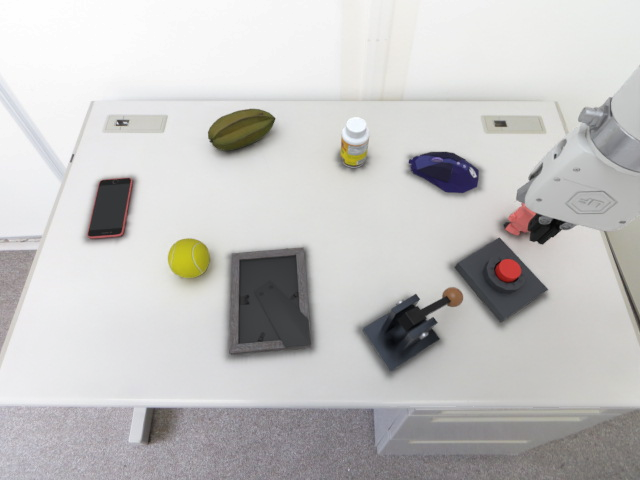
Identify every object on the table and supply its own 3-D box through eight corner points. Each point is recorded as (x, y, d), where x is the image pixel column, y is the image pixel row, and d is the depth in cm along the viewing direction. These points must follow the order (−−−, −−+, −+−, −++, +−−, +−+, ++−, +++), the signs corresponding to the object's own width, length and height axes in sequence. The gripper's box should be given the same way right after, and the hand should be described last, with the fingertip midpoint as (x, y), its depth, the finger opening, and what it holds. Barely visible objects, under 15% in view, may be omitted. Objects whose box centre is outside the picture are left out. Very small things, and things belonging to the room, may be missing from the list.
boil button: (521, 275, 64) (525, 272, 63) (505, 286, 64) (509, 282, 62) (506, 259, 66) (510, 255, 64) (490, 269, 65) (494, 265, 64)
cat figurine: (523, 208, 75) (556, 171, 64) (544, 237, 72) (582, 202, 61) (492, 219, 74) (520, 182, 63) (512, 248, 71) (545, 215, 60)
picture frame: (310, 347, 63) (303, 251, 71) (310, 344, 61) (303, 246, 69) (231, 354, 62) (233, 256, 71) (228, 352, 61) (231, 252, 69)
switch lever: (446, 291, 63) (457, 280, 61) (459, 306, 62) (471, 297, 60) (393, 318, 56) (404, 307, 53) (406, 336, 54) (418, 326, 52)
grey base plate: (542, 293, 67) (554, 285, 63) (499, 322, 64) (510, 315, 61) (494, 242, 72) (503, 232, 68) (454, 267, 69) (460, 258, 66)
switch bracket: (409, 301, 66) (425, 276, 56) (438, 340, 63) (460, 321, 53) (362, 330, 64) (369, 309, 54) (389, 372, 61) (402, 359, 50)
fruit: (232, 116, 88) (225, 93, 82) (279, 130, 86) (275, 107, 80) (208, 152, 83) (199, 130, 77) (257, 167, 81) (251, 146, 75)
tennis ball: (172, 283, 69) (157, 268, 62) (179, 249, 72) (166, 231, 66) (211, 283, 68) (199, 268, 62) (216, 249, 72) (206, 231, 65)
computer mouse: (476, 198, 76) (484, 186, 73) (403, 183, 78) (407, 171, 75) (479, 163, 80) (487, 150, 77) (410, 149, 82) (414, 137, 79)
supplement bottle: (342, 147, 83) (344, 111, 74) (367, 151, 82) (372, 115, 73) (338, 167, 80) (339, 132, 71) (363, 171, 80) (368, 137, 71)
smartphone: (132, 176, 79) (122, 235, 73) (134, 178, 80) (123, 236, 73) (99, 179, 79) (85, 238, 72) (100, 181, 79) (87, 239, 73)
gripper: (548, 142, 32) (473, 240, 49) (745, 189, 30) (597, 276, 46) (554, 84, 35) (482, 195, 52) (732, 123, 33) (598, 226, 49)
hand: (536, 233), depth 49 cm, fingers closed
